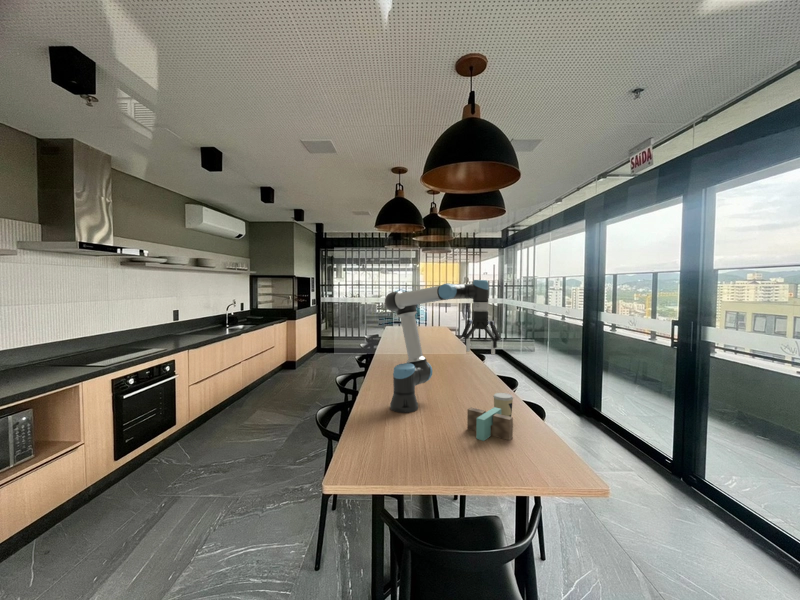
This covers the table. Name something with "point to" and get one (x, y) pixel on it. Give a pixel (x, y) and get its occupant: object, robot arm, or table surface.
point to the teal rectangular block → (485, 424)
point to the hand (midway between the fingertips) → (480, 352)
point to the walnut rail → (500, 423)
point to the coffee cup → (503, 403)
